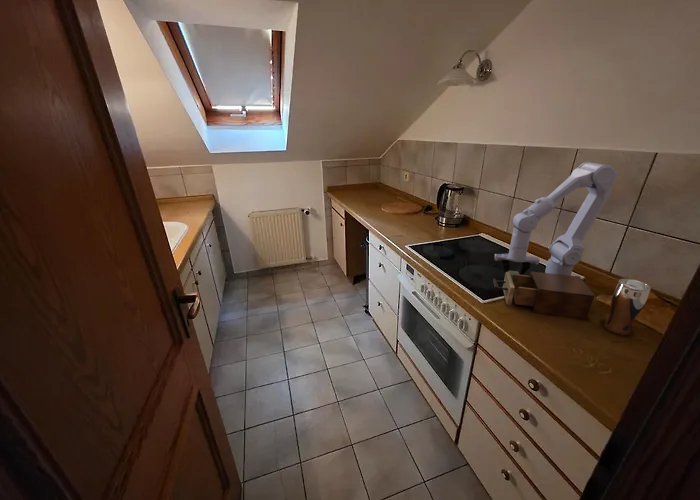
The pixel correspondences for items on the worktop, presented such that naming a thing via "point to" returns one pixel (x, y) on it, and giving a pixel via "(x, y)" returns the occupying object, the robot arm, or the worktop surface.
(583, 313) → the cabinet
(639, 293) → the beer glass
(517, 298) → the drawer
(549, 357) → the worktop surface
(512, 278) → the block
